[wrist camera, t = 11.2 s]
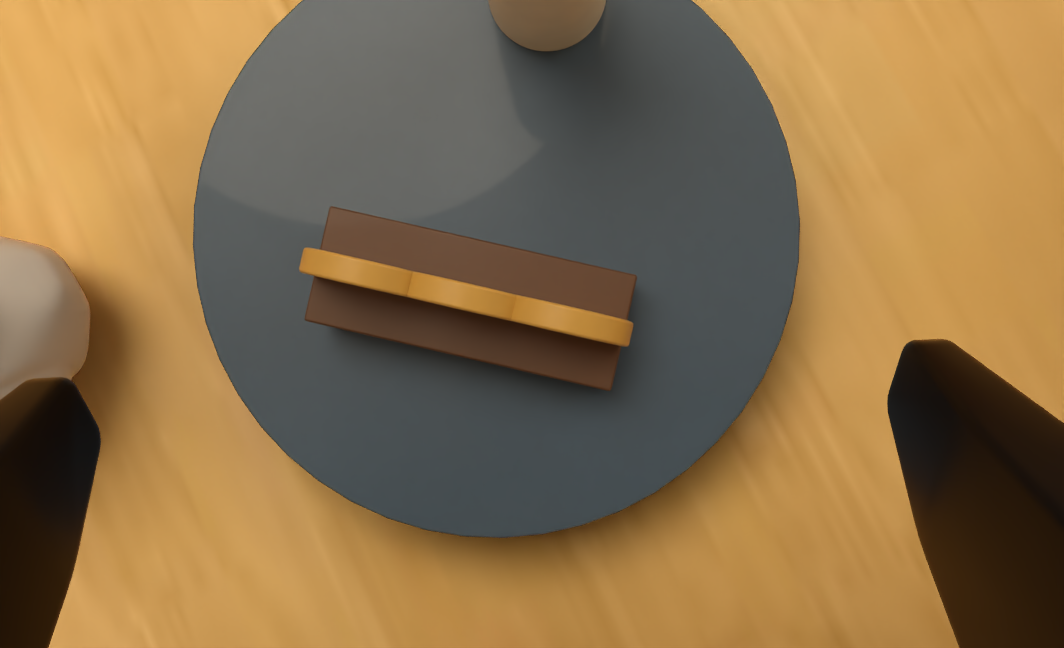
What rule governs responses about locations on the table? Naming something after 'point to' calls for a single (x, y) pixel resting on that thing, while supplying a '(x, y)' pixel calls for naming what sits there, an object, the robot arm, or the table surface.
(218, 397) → the table surface
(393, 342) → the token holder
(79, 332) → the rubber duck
